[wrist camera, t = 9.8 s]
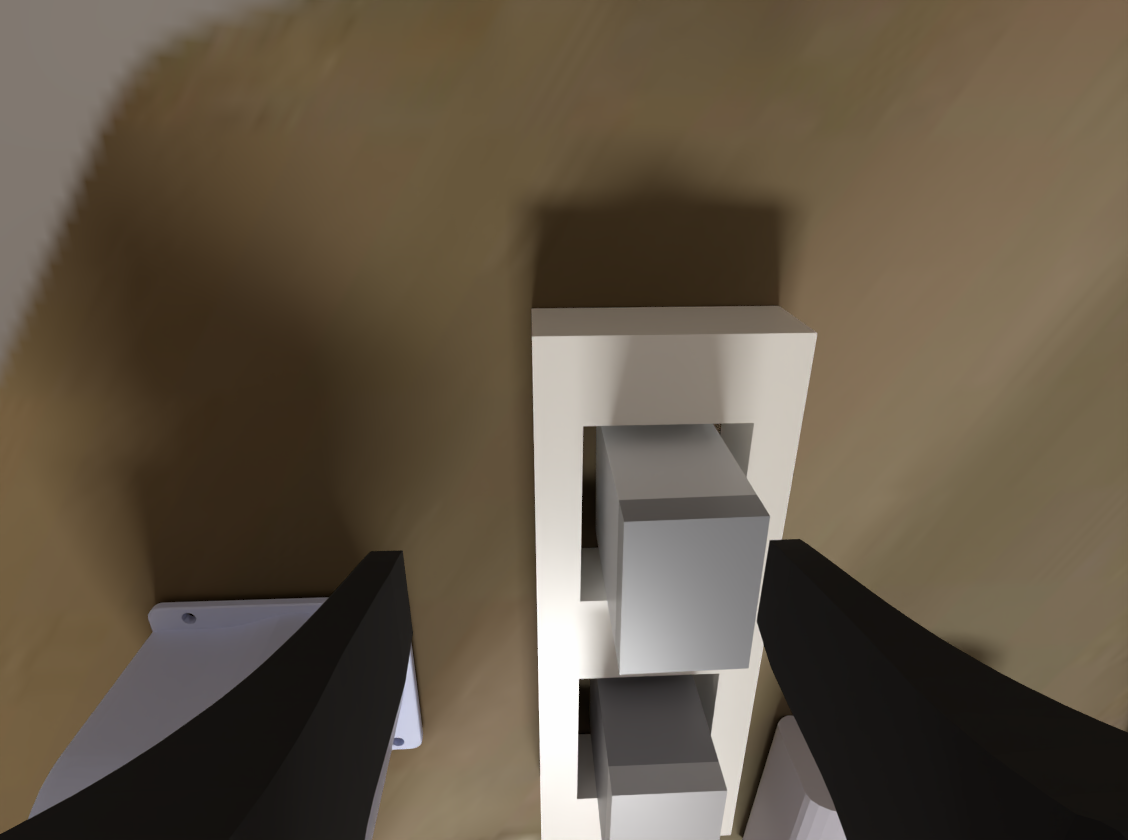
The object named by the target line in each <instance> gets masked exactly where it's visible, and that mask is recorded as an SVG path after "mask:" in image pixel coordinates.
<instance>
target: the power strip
mask: <svg viewBox="0 0 1128 840" xmlns="http://www.w3.org/2000/svg"><path fill="white" fill-rule="evenodd" d="M531 313H532V365H533V418H534V470H535V522H536V575H537V627H538V679H539V731H540V784H541V836H542V840H601V830H600V820H599V810H598V801H597V791H596V781H595V771H594V761H593V752H592V742H591V734H578V710H579V679H588V678H614V677H640V676H667V675H693V677H694V681H695V684H696V687H697V691H698V694H699V697H700V701H701V704H702V707H703V711H704V714H705V717H706V721H707V724H708V727H709V731H710V734H711V737H712V741H713V744H714V747H715V751H716V754H717V757H718V761H719V764H720V767H721V771H722V774H723V777H724V781H725V784H726V787H727V797H726V803H725V809H724V815H723V821H722V827H721V833H720V835H731V830H732V825H733V819H734V813H735V807H736V801H737V796H738V790H739V784H740V778H741V772H742V767H743V761H744V755H745V749H746V744H747V738H748V732H749V726H750V720H751V715H752V709H753V703H754V697H755V691H756V686H757V680H758V674H759V668H760V663H761V657H762V651H763V645H764V644H763V641H762V638H761V634H760V631H759V628H758V624H757V615H758V609H759V602H760V596H761V590H762V584H763V578H764V572H765V566H766V560H767V553H768V547H769V541H770V540H782V535H783V529H784V524H785V518H786V512H787V506H788V500H789V495H790V489H791V483H792V477H793V471H794V466H795V460H796V454H797V448H798V443H799V437H800V431H801V425H802V419H803V414H804V408H805V402H806V396H807V390H808V385H809V379H810V373H811V367H812V362H813V356H814V350H815V344H816V338H817V332H816V331H814V330H813V329H811V328H810V327H808V326H807V325H806V324H804V323H803V322H801V321H800V320H799V319H797V318H796V317H794V316H793V315H792V314H790V313H789V312H787V311H786V310H785V309H783V308H782V307H780V306H715V307H622V308H531ZM721 423H722V424H721ZM670 424H721V432H720V436H721V438H722V439H723V441H724V442H725V444H726V446H727V447H728V449H729V450H730V452H731V454H732V455H733V457H734V458H735V460H736V462H737V463H738V465H739V467H740V468H741V470H742V471H743V473H744V475H745V476H746V478H747V479H748V481H749V483H750V484H751V486H752V488H753V489H754V491H755V492H756V494H757V496H758V497H759V499H760V500H761V502H762V504H763V505H764V507H765V508H766V510H767V512H768V513H769V515H770V521H769V528H768V535H767V542H766V549H765V556H764V563H763V570H762V577H761V584H760V591H759V598H758V605H757V612H756V619H755V626H754V633H753V640H752V647H751V654H750V661H749V668H746V669H726V670H705V671H685V672H665V673H645V674H625V675H619V669H618V663H617V657H616V651H615V645H614V639H613V633H612V627H611V620H610V614H609V608H608V602H607V596H606V590H605V584H604V578H603V572H602V566H601V560H600V554H599V548H581V526H582V465H583V426H619V425H670Z"/></svg>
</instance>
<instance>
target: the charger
mask: <svg viewBox="0 0 1128 840" xmlns="http://www.w3.org/2000/svg"><path fill="white" fill-rule="evenodd" d="M742 840H847V839H846V837H845V834H844V831H843V828H842V826H841V823H840V820H839V817H838V814H837V812H836V809H835V806H834V803H833V801H832V798H831V796H830V794H829V791H828V789H827V787H826V784H825V782H824V780H823V777H822V775H821V773H820V771H819V769H818V766H817V764H816V762H815V760H814V758H813V756H812V754H811V752H810V750H809V747H808V745H807V743H806V741H805V739H804V737H803V735H802V733H801V731H800V728H799V726H798V724H797V722H796V720H795V718H794V716H785V717H783V718H781V720H780V721H779V722H778V725H777V728H776V732H775V735H774V738H773V741H772V745H771V748H770V751H769V754H768V758H767V761H766V764H765V768H764V771H763V774H762V777H761V781H760V784H759V787H758V790H757V794H756V797H755V800H754V804H753V807H752V810H751V813H750V817H749V820H748V823H747V826H746V830H745V833H744V836H743V839H742Z"/></svg>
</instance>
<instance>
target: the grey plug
mask: <svg viewBox="0 0 1128 840" xmlns="http://www.w3.org/2000/svg"><path fill="white" fill-rule="evenodd" d="M769 521H770V515H769V513H768V512H767V510H766V508H765V507H764V505H763V504H762V502H761V500H760V499H759V497H758V496H757V494H756V492H755V491H754V489H753V488H752V486H751V484H750V483H749V481H748V479H747V478H746V476H745V475H744V473H743V471H742V470H741V468H740V467H739V465H738V463H737V462H736V460H735V458H734V457H733V455H732V454H731V452H730V450H729V449H728V447H727V446H726V444H725V442H724V441H723V439H722V438H721V436H720V434H719V433H718V431H717V429H716V428H715V426H714V425H713V424H670V425H619V426H596V526H595V530H596V536H597V542H598V548H599V554H600V560H601V566H602V572H603V578H604V584H605V590H606V596H607V602H608V608H609V614H610V620H611V627H612V633H613V639H614V645H615V651H616V657H617V663H618V669H619V675H625V674H645V673H665V672H685V671H705V670H726V669H746V668H749V661H750V654H751V647H752V640H753V633H754V626H755V619H756V612H757V605H758V598H759V591H760V584H761V577H762V570H763V563H764V556H765V549H766V542H767V535H768V528H769Z"/></svg>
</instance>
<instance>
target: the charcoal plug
mask: <svg viewBox="0 0 1128 840" xmlns="http://www.w3.org/2000/svg"><path fill="white" fill-rule="evenodd" d="M589 722H590V732H591V742H592V752H593V761H594V771H595V781H596V791H597V801H598V810H599V820H600V830H601V840H720V833H721V827H722V821H723V815H724V809H725V803H726V797H727V787H726V784H725V781H724V777H723V774H722V771H721V767H720V764H719V761H718V757H717V754H716V751H715V747H714V744H713V741H712V737H711V734H710V731H709V727H708V724H707V721H706V717H705V714H704V711H703V707H702V704H701V701H700V697H699V694H698V691H697V687H696V684H695V681H694V677H693V675H667V676H640V677H614V678H591V680H590V715H589Z"/></svg>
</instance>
